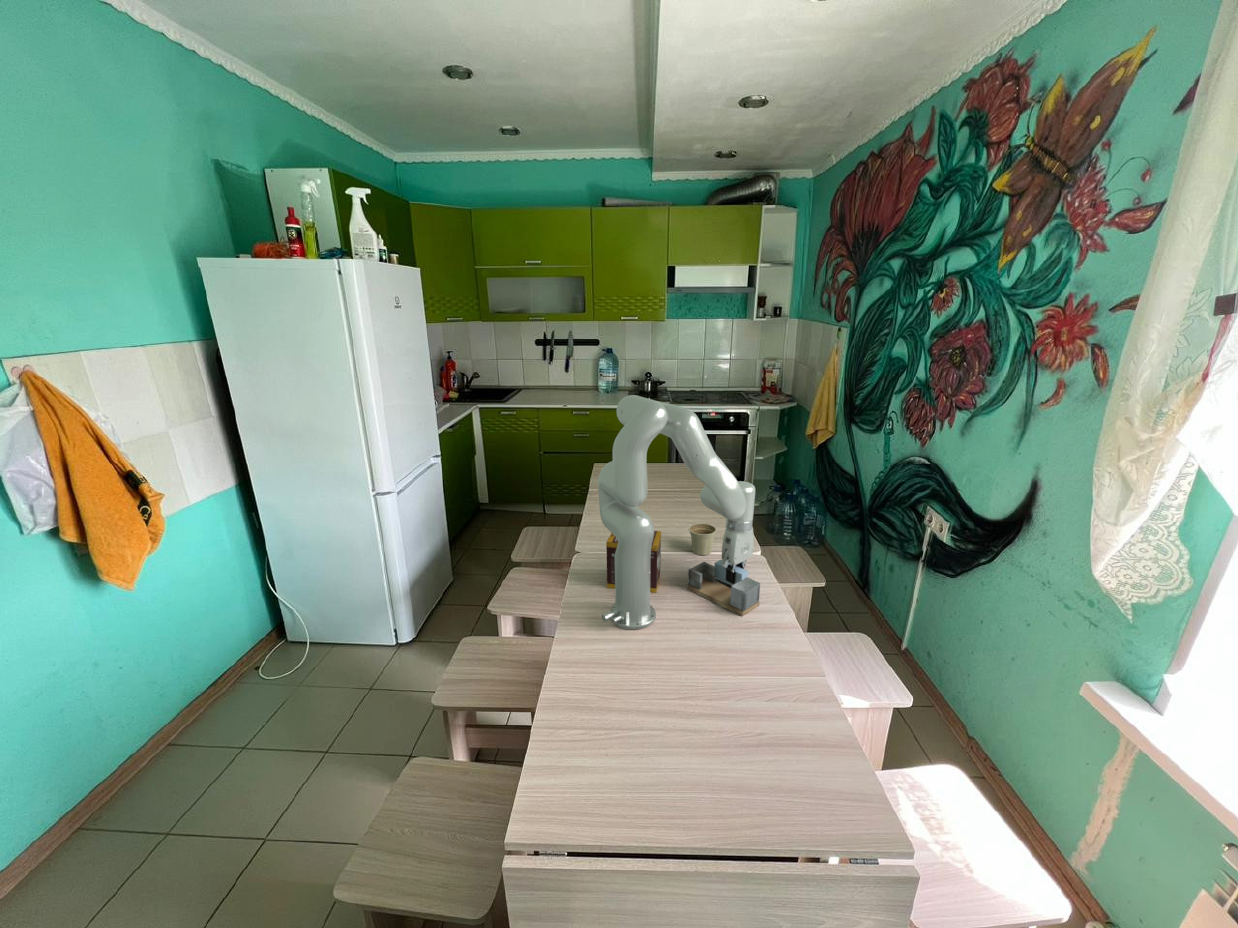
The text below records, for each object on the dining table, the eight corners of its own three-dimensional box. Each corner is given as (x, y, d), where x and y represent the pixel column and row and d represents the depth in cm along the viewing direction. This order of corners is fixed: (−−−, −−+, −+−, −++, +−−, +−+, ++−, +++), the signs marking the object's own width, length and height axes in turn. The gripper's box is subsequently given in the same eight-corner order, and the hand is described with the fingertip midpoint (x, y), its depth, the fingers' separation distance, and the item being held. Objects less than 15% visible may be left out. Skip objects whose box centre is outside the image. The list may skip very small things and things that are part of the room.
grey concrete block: (758, 601, 147) (760, 583, 145) (743, 611, 142) (745, 592, 140) (745, 594, 150) (746, 577, 148) (730, 604, 145) (731, 586, 143)
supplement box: (657, 593, 154) (657, 545, 149) (606, 588, 157) (605, 541, 152) (661, 576, 164) (662, 530, 159) (613, 571, 167) (613, 527, 162)
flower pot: (683, 554, 177) (684, 531, 175) (693, 543, 185) (694, 521, 183) (710, 560, 173) (711, 536, 171) (718, 548, 181) (720, 526, 179)
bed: (759, 605, 147) (760, 586, 145) (742, 616, 142) (743, 596, 140) (704, 579, 162) (704, 561, 160) (687, 588, 156) (687, 569, 155)
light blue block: (747, 586, 155) (748, 571, 154) (740, 589, 153) (741, 574, 152) (720, 574, 163) (721, 559, 161) (713, 577, 160) (714, 562, 159)
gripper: (732, 535, 143) (727, 594, 149) (766, 520, 154) (760, 575, 159) (711, 526, 149) (707, 584, 154) (744, 513, 159) (740, 566, 165)
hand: (734, 579), depth 157 cm, fingers closed on light blue block, 3 cm apart
